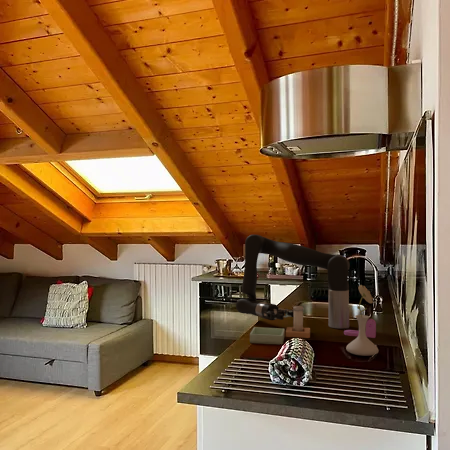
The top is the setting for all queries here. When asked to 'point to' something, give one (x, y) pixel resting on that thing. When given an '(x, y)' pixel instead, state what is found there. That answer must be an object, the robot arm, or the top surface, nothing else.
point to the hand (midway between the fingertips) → (290, 316)
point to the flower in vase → (362, 330)
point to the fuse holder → (298, 333)
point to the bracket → (369, 331)
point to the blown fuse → (298, 318)
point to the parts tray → (267, 335)
